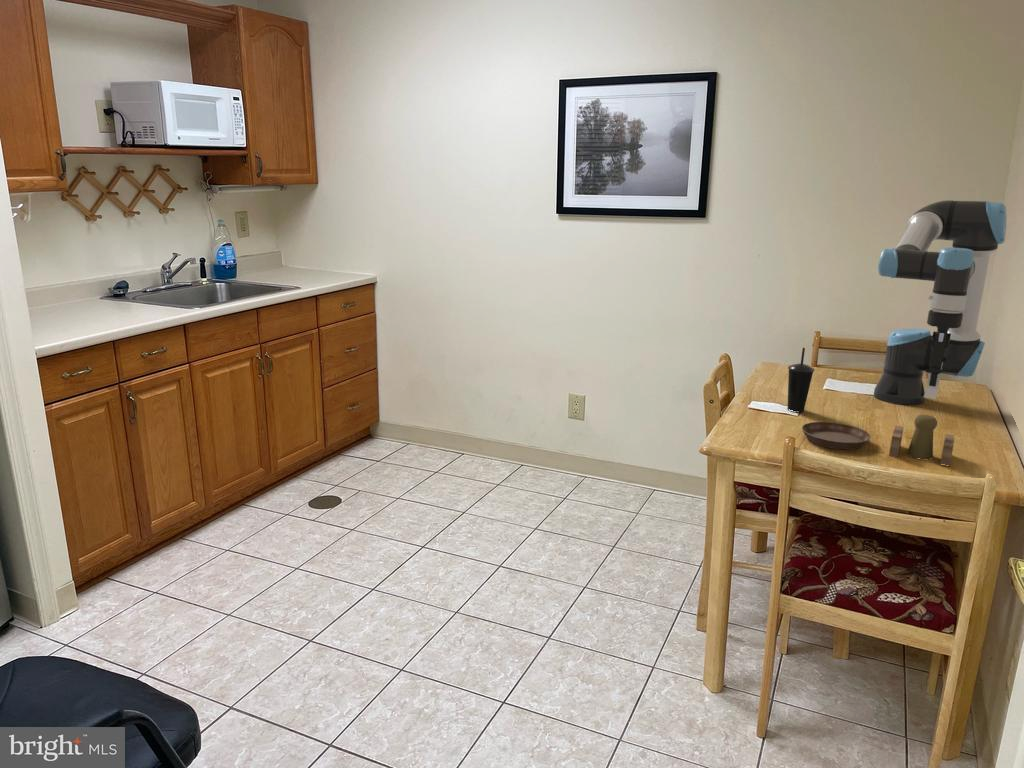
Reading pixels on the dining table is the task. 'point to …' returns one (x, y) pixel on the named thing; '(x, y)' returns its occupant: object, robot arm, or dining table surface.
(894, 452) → the wooden bookends
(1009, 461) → the dining table surface
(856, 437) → the plant saucer
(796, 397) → the drinking cup
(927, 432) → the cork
